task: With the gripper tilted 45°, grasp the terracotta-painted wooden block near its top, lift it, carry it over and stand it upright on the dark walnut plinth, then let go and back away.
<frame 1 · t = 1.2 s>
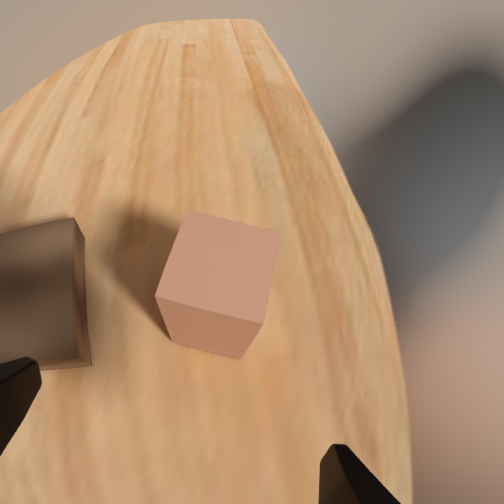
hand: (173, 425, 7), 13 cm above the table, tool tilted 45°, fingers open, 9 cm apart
terracotta block: (214, 319, 22), on the table
walnut plinth: (28, 305, 20), on the table
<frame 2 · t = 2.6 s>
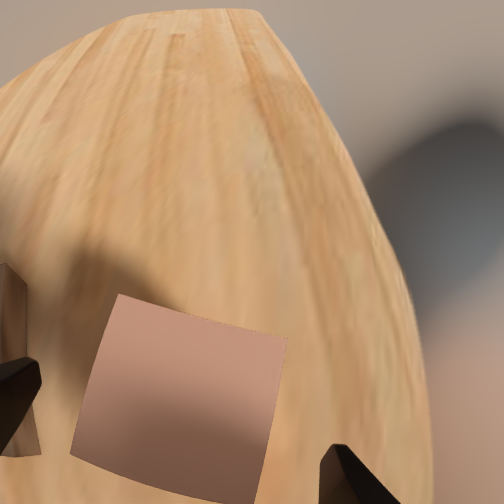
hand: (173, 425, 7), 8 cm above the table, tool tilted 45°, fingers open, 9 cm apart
terracotta block: (190, 409, 15), on the table
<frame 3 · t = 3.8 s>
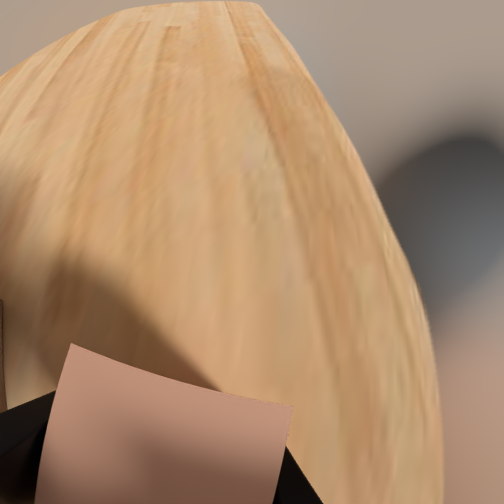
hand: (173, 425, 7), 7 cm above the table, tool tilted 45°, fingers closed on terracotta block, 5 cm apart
terracotta block: (180, 445, 12), on the table, touching gripper
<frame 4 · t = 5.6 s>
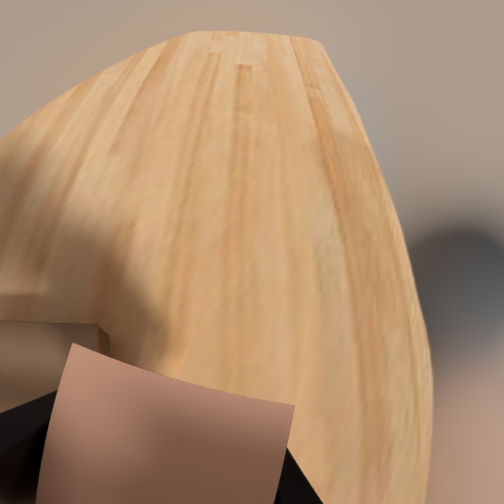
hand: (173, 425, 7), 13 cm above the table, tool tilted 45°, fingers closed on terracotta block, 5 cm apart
terracotta block: (181, 445, 12), point 6 cm above the table, touching gripper
walnut plinth: (45, 403, 17), on the table
when the fingers open (10 cm above the table, at t = 7.4 s): terracotta block stays where it is, resting on walnut plinth.
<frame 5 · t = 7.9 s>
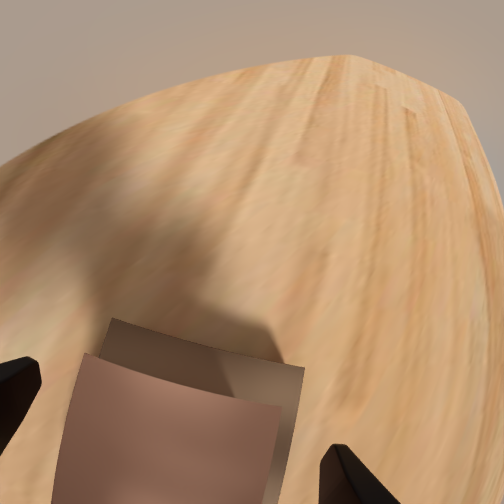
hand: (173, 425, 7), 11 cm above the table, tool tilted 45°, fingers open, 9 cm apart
terracotta block: (182, 443, 13), point 3 cm above the table, touching walnut plinth
walnut plinth: (185, 438, 16), on the table
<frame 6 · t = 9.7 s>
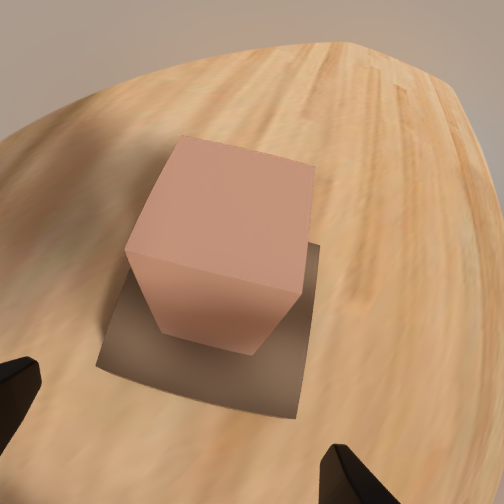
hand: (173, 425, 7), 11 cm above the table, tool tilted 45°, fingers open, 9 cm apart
terracotta block: (217, 302, 17), point 3 cm above the table, touching walnut plinth
walnut plinth: (214, 318, 20), on the table
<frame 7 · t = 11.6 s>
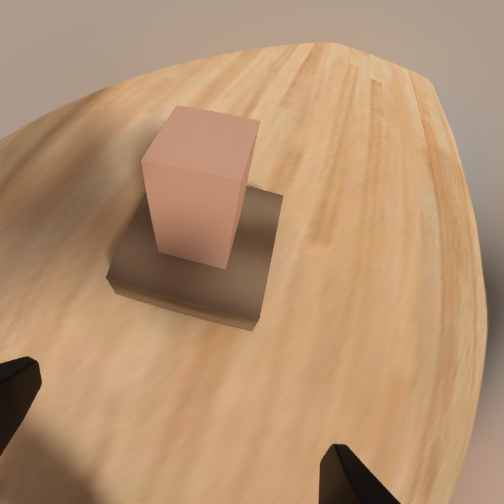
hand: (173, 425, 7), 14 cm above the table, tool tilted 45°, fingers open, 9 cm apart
terracotta block: (201, 231, 23), point 3 cm above the table, touching walnut plinth
walnut plinth: (200, 251, 25), on the table
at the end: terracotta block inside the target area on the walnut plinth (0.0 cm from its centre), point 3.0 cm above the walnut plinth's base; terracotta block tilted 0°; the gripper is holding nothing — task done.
